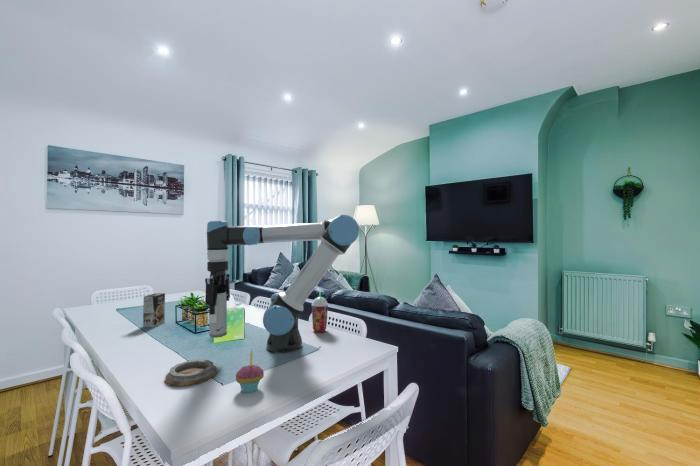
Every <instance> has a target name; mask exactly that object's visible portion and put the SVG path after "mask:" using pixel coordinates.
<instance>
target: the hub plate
mask: <svg viewBox="0 0 700 466" xmlns="http://www.w3.org/2000/svg"><path fill="white" fill-rule="evenodd" d="M217 373H218V367H217V366H216V365H215V364H214V362H213V361H211V360H209V359H200V358H199V359H192V360H186V361H183V362H180V363H177V364H175V365H174V366H171V368H170V369H169V372H167V374H166V375H165V376H164V377H165V378H164V379H165V380H164V381H165V384H167V385H169V386H170V387H171V386H172V387H191V386H196V385H199V384H203V383H205V382H208V381H209V380H212V379H213V378H214V377H216V376H217Z"/></svg>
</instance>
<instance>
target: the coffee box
mask: <svg viewBox="0 0 700 466" xmlns="http://www.w3.org/2000/svg"><path fill="white" fill-rule="evenodd" d="M142 305H143V306H142V307H143V310H142V311H143V313H142V315H143V316H142V322H143V323H142V327H143V328H156V327H158V326H160V325H163V324H165V321H166V320H165V319H166V317H165V316H166V313H165V312H166V309H165V308H166V306H165V305H166V293H158V292H157V293H151V294H148V295H145V296H143V304H142Z"/></svg>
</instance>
